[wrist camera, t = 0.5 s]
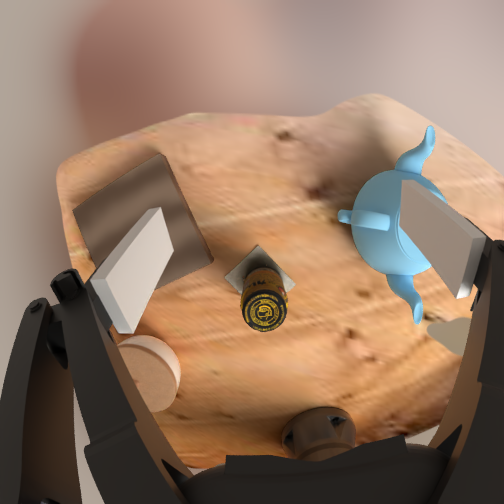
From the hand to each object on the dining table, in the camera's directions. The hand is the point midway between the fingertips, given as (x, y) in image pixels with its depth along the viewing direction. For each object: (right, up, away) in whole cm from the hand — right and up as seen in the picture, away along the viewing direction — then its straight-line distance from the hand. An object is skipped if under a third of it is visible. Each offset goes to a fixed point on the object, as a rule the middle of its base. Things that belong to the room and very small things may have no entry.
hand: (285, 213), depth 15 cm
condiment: (0, -6, +30) cm, 31 cm away
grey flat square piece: (-20, +1, +29) cm, 35 cm away
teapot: (+20, +3, +28) cm, 35 cm away
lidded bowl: (-19, -21, +32) cm, 43 cm away
